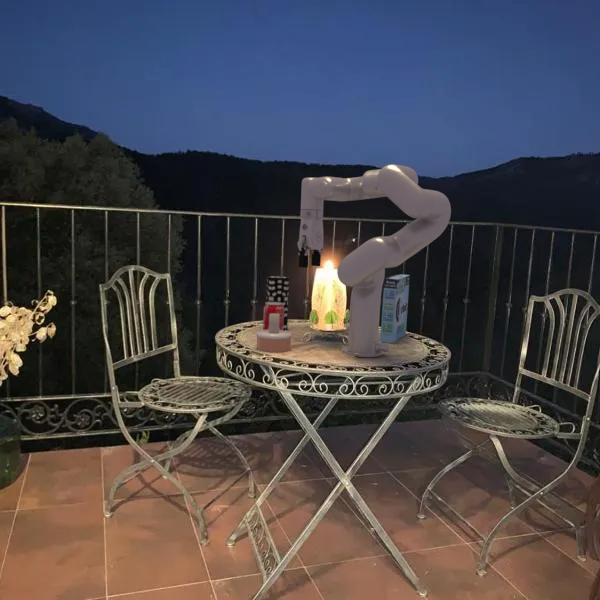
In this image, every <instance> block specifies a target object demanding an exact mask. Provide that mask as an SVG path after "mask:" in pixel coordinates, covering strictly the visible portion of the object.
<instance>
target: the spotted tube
mask: <svg viewBox="0 0 600 600" xmlns="http://www.w3.org/2000/svg"><path fill="white" fill-rule="evenodd" d="M289 290H290V277H289V276H282V275H269V276H266V301H265V303H266V302H280V303H283V307H284V331H285V330H286V331H288V320H289V296H290V295H289V292H290V291H289Z"/></svg>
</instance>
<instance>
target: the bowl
mask: <svg viewBox="0 0 600 600" xmlns="http://www.w3.org/2000/svg"><path fill="white" fill-rule="evenodd" d="M291 338H292V336H291V337H290V338H286V339H266V338H260V337H258V336H257V335H256V349H257V350H258V351H260V352H265V353H285V352H288V351H290V350H291V348H290V346H291V342H292V340H291Z"/></svg>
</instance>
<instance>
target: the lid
mask: <svg viewBox="0 0 600 600" xmlns="http://www.w3.org/2000/svg"><path fill="white" fill-rule="evenodd" d="M279 318H280V314H278V313H270V314H269V330H263V329H260V330H257V331H256V337H257V336H258V337H260V338H266V339H286V338H290V337H291V338H292V332H291V331H288V330H286V331H284V330H279Z"/></svg>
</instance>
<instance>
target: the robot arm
mask: <svg viewBox="0 0 600 600" xmlns="http://www.w3.org/2000/svg"><path fill="white" fill-rule="evenodd" d="M418 184H419V177H418V174H417V172H416V170H414V169H413V168H411V167H409V166H406V165H402V164H401V165H399V164H395V163H392V164H391V163H390V164H387V165H385V166H384V167H382V168H379V169H378V168H377V169H371V170H367V171H365V172H364V173H363V175H362V176H357V177H347V178H345V177H344V178H343V177H335V176H320V177H304V178H303V179H302V181H301V193H300V194H301V195H300V197H301V198H300V215H299V216H300V217H299V219H300V226H299V234H298V235H299V237H298V241H297V251H298V254H297V255H298V267H299V268H305V269H307V268H309V255H308V254H309V251H310V250H311V252H312V253H311V260H310V263H311V264H310V265H311V266H313V267H321V257H322V250H323V249H324V222H323V220H324V201H332V202H333V201H335V202H348V201H349V202H351V201H360V200H367V199H368V200H370V199H377V198H384V197H387V198H388V199H389V200H390V201H391V202H392V203H393V204H395V206H397V208H399V209H400V210H401V212H403V213H404V214H406V215H407V216H409V217H410V218H413V219H414V220H413V221H411V222H409V223H407V224H406V225H404V226H403V227H402V228H401V229H399V230H398V231H396V232H395V233H393V234H392V235H387V236H386V235H385V236H382V235H381V236H376V237H372V238H370V239H368V240H367V241H364V243H362V244H361V245H359V246H358V247H357V248H356V249H353V250H352V251H351V252H350V253H349V254H347V255H346V256H345V257H344V258H342V259H341V261H340V262H339V264H338V267H337V271H336V274H337V278H338V280H339V281H340V283H342V284H343V285H344V286H345V287H346V286H347V287H351V288H352V290H351V295H350V301H349V302H350V304H349V317H348V318H349V320H348V337H347V338H348V340H347V341H348V344H347V346H345V347H343V348H342V351H343V353H346V354H347V355H354V357H356V358H377V357H381V356H382V355H383V352H385V353H386V352H387V353H390V351H391V346H390V345H389V344H382V342H381V340H380V339H379V334H380V333H379V331H380V314H381V313H380V312H381V299H382V298H381V297H382V292H383V286H384V279H385V276H386V275H385V273H386V269H391V268H396V267H399V266H400V265H401V264H403V263H404V262H405V261H407V260H408V259H409V258H411V257H413V256H414V255H416V254H417V253H419V252H420V251H421V250H422V249H424V248H425V247H427V246H428V245H429V244H431V243H432V242H434V240H436V239H437V238H439V237H440V236H441V235H442V233H444V231H445V229H446V228H447V227H448V224H449V222H450V219H451V214H452V208H451V202H450V201H449V198H448V197H447V195H445V194H444V193H443V192H441V191H438V190H432V189H425V188H422V187H421V186H419V185H418Z"/></svg>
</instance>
